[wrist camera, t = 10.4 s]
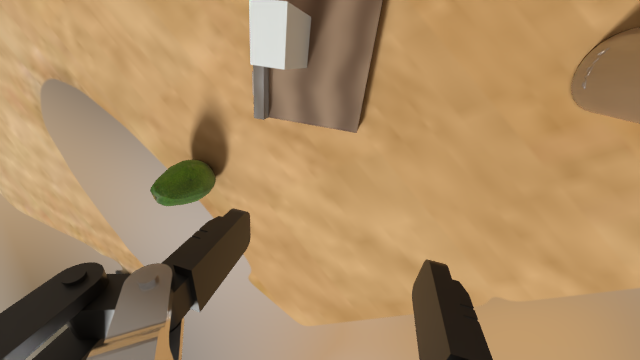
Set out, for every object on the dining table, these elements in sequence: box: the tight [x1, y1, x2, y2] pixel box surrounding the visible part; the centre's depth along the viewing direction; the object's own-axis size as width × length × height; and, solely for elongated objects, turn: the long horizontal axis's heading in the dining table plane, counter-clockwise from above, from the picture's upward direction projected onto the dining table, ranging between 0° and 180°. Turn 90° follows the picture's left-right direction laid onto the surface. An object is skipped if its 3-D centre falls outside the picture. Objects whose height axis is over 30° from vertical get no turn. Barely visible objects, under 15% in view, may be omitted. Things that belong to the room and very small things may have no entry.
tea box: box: [249, 0, 311, 70], centre depth 28 cm, size 6×4×9 cm
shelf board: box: [252, 0, 383, 133], centre depth 32 cm, size 16×20×4 cm
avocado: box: [150, 160, 216, 206], centre depth 43 cm, size 8×8×12 cm
